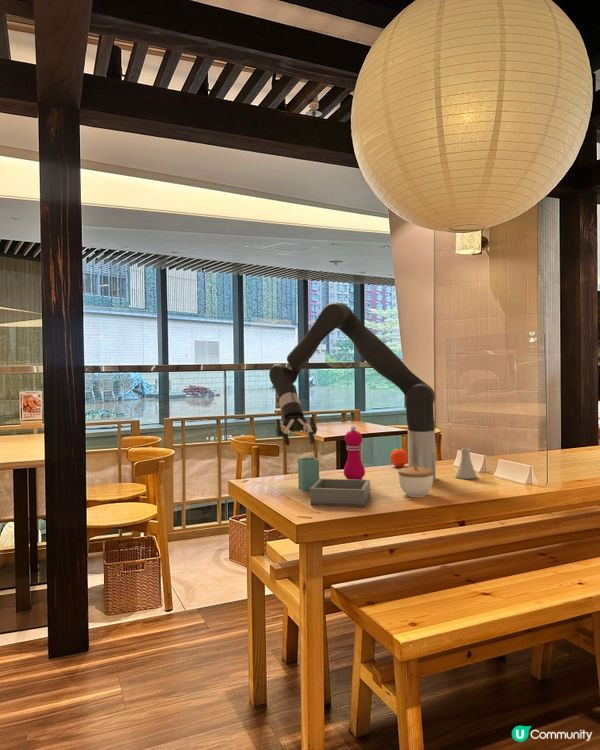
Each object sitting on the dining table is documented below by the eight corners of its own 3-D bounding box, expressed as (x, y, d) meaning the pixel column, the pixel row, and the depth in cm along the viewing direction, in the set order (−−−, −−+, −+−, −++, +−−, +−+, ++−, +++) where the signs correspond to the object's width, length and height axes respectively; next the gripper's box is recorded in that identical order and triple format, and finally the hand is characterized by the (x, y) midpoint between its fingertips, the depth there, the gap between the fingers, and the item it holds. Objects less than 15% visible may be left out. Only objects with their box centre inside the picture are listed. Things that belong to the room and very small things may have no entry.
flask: (480, 476, 210) (479, 448, 210) (471, 480, 205) (470, 451, 204) (461, 474, 215) (460, 446, 214) (451, 478, 210) (451, 449, 209)
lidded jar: (399, 499, 182) (398, 468, 181) (398, 490, 192) (397, 461, 192) (435, 499, 180) (434, 468, 180) (432, 491, 191) (431, 462, 191)
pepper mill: (364, 487, 198) (362, 427, 197) (342, 487, 199) (341, 427, 198) (366, 482, 205) (364, 424, 204) (345, 482, 206) (343, 424, 205)
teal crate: (314, 486, 201) (313, 457, 201) (319, 490, 196) (318, 460, 195) (298, 488, 200) (297, 458, 199) (303, 492, 194) (302, 461, 194)
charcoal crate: (370, 495, 187) (369, 479, 187) (364, 507, 173) (364, 490, 173) (320, 494, 191) (319, 478, 190) (310, 505, 177) (310, 488, 177)
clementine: (385, 467, 231) (384, 449, 231) (390, 464, 237) (390, 446, 237) (405, 468, 227) (404, 450, 227) (410, 465, 233) (410, 447, 233)
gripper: (273, 402, 213) (281, 438, 202) (311, 400, 216) (321, 435, 206) (270, 415, 218) (278, 451, 207) (308, 413, 222) (317, 448, 211)
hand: (300, 443), depth 207 cm, fingers open, 8 cm apart
